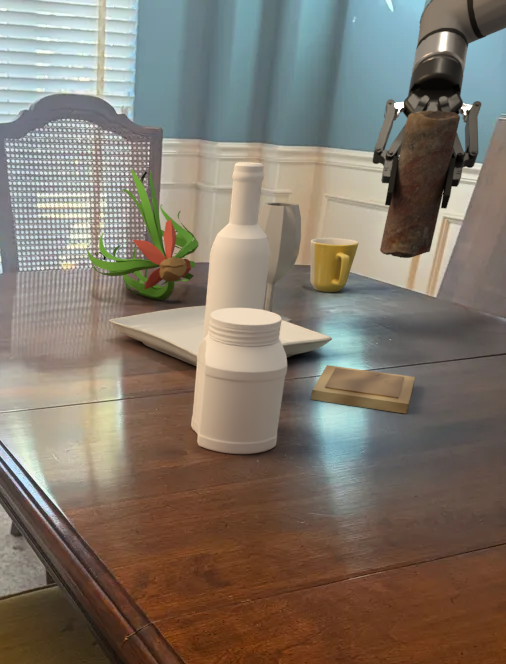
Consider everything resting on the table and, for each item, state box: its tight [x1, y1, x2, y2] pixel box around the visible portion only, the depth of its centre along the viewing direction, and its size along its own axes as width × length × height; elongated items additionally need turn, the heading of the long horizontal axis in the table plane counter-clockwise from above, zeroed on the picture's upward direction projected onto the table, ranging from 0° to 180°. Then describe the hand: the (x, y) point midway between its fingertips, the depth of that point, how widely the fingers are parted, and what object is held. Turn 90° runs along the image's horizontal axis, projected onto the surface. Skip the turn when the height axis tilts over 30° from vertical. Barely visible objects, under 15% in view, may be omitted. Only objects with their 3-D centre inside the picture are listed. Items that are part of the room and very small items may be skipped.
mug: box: [309, 237, 359, 293], centre depth 170 cm, size 14×10×10 cm
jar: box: [190, 308, 288, 455], centre depth 93 cm, size 12×10×15 cm
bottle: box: [203, 161, 270, 339], centre depth 103 cm, size 8×8×30 cm
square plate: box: [108, 304, 333, 367], centre depth 131 cm, size 27×27×4 cm
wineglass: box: [257, 201, 302, 323], centre depth 142 cm, size 9×9×21 cm
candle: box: [379, 111, 461, 259], centre depth 116 cm, size 8×7×20 cm
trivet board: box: [310, 364, 416, 415], centre depth 112 cm, size 13×13×2 cm
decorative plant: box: [86, 168, 199, 301], centre depth 160 cm, size 26×25×30 cm
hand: (417, 200), depth 113 cm, fingers closed on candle, 7 cm apart
